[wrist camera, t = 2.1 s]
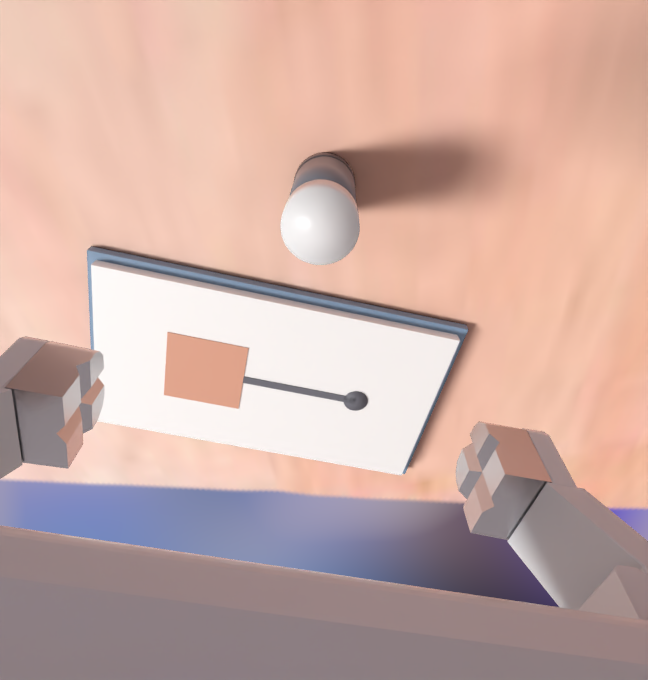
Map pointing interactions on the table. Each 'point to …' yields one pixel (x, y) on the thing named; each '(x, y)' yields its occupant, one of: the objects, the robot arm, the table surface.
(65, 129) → the table surface
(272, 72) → the table surface
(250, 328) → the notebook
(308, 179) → the white-topped grey cylinder
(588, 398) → the table surface
